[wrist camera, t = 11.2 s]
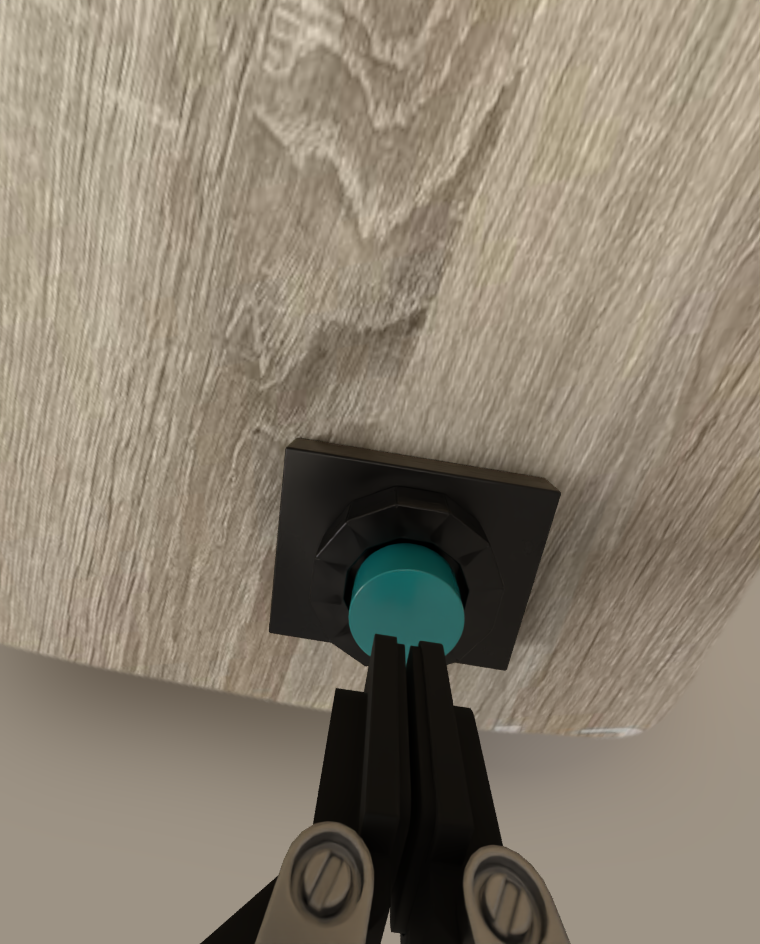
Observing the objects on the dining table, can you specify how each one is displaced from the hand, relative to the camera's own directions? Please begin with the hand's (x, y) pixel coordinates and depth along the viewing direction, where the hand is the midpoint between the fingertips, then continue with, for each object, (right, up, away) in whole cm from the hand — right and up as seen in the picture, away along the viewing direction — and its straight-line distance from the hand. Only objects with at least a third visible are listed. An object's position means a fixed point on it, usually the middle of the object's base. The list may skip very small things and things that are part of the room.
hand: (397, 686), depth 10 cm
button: (0, +1, +4) cm, 4 cm away
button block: (+1, +2, +7) cm, 8 cm away
